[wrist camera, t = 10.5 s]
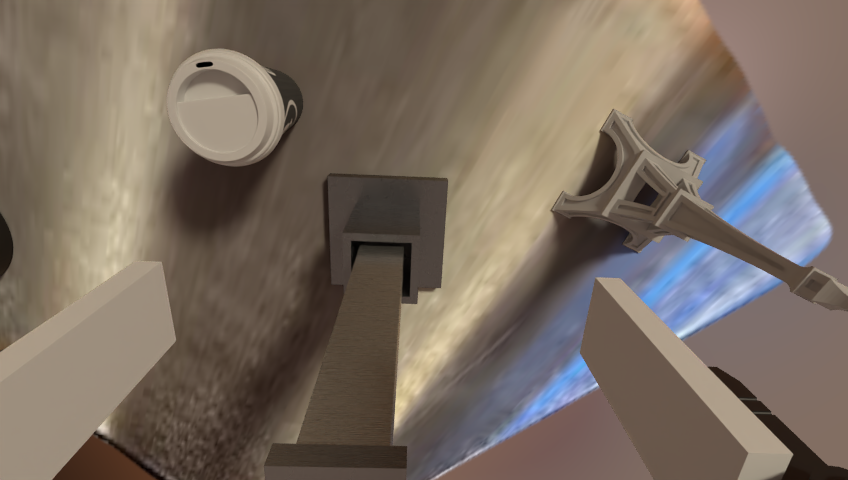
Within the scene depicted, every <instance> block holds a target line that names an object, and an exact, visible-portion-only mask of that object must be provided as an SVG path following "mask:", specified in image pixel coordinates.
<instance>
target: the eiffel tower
mask: <svg viewBox="0 0 848 480" xmlns="http://www.w3.org/2000/svg"><path fill="white" fill-rule="evenodd" d="M632 121H633V119H631V118H630V117H628V116H626V115H624V114H622V113H621V112H619V111H617V110H615V109H613V110H612V112H611V114H610V115H609V117H608V118H607V120H606V122H605V123H604V125H603V127H602V128H601V130H600V131H602V132H604V133H606V134H608V135H610V136H611V137H612V138H613V140H614V142H615V144H616V147H617V152H618V160H617V166H616V169H615V171H614V173H613V175H612V177H611V178H610V180H609V181H608V182H607V183H606V184H605V185H604V186H603V187H602V188H601V189H599V190H598V191H596V192H594V193H591V194H589V195H585V196H573V195H571V194H569V193H567V192H565V191H563V192H562V193H561V195H560V196H559V198H558V200H557V201H556V203H555V204H554V206H553V208H552V210H553V211H555V212H557V213H559V214H561V215H563V216H565V217H567V218H569V219H571V217H590V218H596V219H601V220H604V221H608V222H611V223H614V224H616V225H618V226H621V227H622V228H624V229H626V230H627V231H629V232H630V233H629V235H628V236H627V237H626V239H625V240H624V242H623V243H622V245H624V246H626V247H628V248H630V249H632V250H634V251H636V252H639V253H640V252H641V251H642V249H643V248H644V247H645V246H647V245H648V244H649V243H650V242H651V241H652V240H653V241H655V242H657V243H659V242H660V241H661V240H662V238H663V237H664V236H665V235H675V236H677V237H679V238H681V239H683V240H685V241H687V242H688V241H689V239H690V238H692V239H695V240H697V241H700V242H702V243H705V244H707V245H710V246H712V247H715V248H717V249H719V250H722V251H724V252H726V253H728V254H731V255H733V256H735V257H737V258H739V259H741V260H743V261H745V262H748V263H750V264H752V265H754V266H756V267H758V268H760V269H762V270H764V271H765V272H767V273H769V274H771V275H773V276H775V277H777V278H778V279H780V280H782V281H784V282H786V283H787V284H788V285H789V287H790V292H792V293H794V294H796V295H798V296H800V297H802V298H804V299H806V300H808V301H810V302H812V303H814V304H816V303H817V304H819V305H821V306H823V307H825V308H827V309H829V310H844V311H848V287H846V286H844V285H842V284H840V283H838V282H836V281H837V279H836V278H834V277H832V276H830V275H828V274H826V273H824V272H822V271H821V270H819V269H817V268H815V267H813V266H811V267H801V266H799V265H797V264H795V263H793V262H791V261H790V260H788V259H786V258H784V257H782V256H781V255H779V254H777V253H775V252H774V251H772V250H770V249H769V248H767V247H765V246H763V245H762V244H760V243H758V242H757V241H755V240H754V239H752V238H750V237H749V236H747V235H746V234H744V233H742V232H741V231H739V230H738V229H736V228H735V227H733V226H732V225H730V224H729V223H727V222H726V221H724V220H723V219H722V218H720V217H719V216H718V215H716V214H715V213H714V212H712V211H711V210H712V209H713V208H714V206H712V205H710V204H708V203H707V202H705V201H703V200H701V198H700V196H699V194H698V192H697V190H698V189H699V187H700V186H701V185H702V183H703V182H702V181H701V180H699V179H697V178H698V175H699V173H700V170H701V168H702V166H703V164H704V163H705V161H706V160H705V159H704V158H702V157H700V156H698V155H696V154H694V153H693V152H691V151H689V150H687V151H686V153H685V154H684V155H683V157H682V158H681V160H680V161H679V163H675V162H672V161H670V160H668V159H666V158H664V157H663V156H661V155H660V154H658V153H657V152H656V151H654V150H653V149H652V148H651V147H650V146H649V145H648V144H647V143H646V142H645V141H644V140H643V139H642V138H641V136H640V135H639V134H638V132H637V131H636V129H635V127H634V126H633V123H632ZM646 182H647V183H648V184H649V185H650V186H651V187H652V188H653V189H654V190H656V191H657V192H658V193H659V194H658V196H657V198H656V199H655V201H654V202H653V203H652V204H651V206H650V207H649V206H646V205H642V204H639V203H635V202H633V201H634V199H635V198H636V196H637V195H638V193H639V192H640V190H641V189H642V187H643V186H644V185H645V183H646Z"/></svg>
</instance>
